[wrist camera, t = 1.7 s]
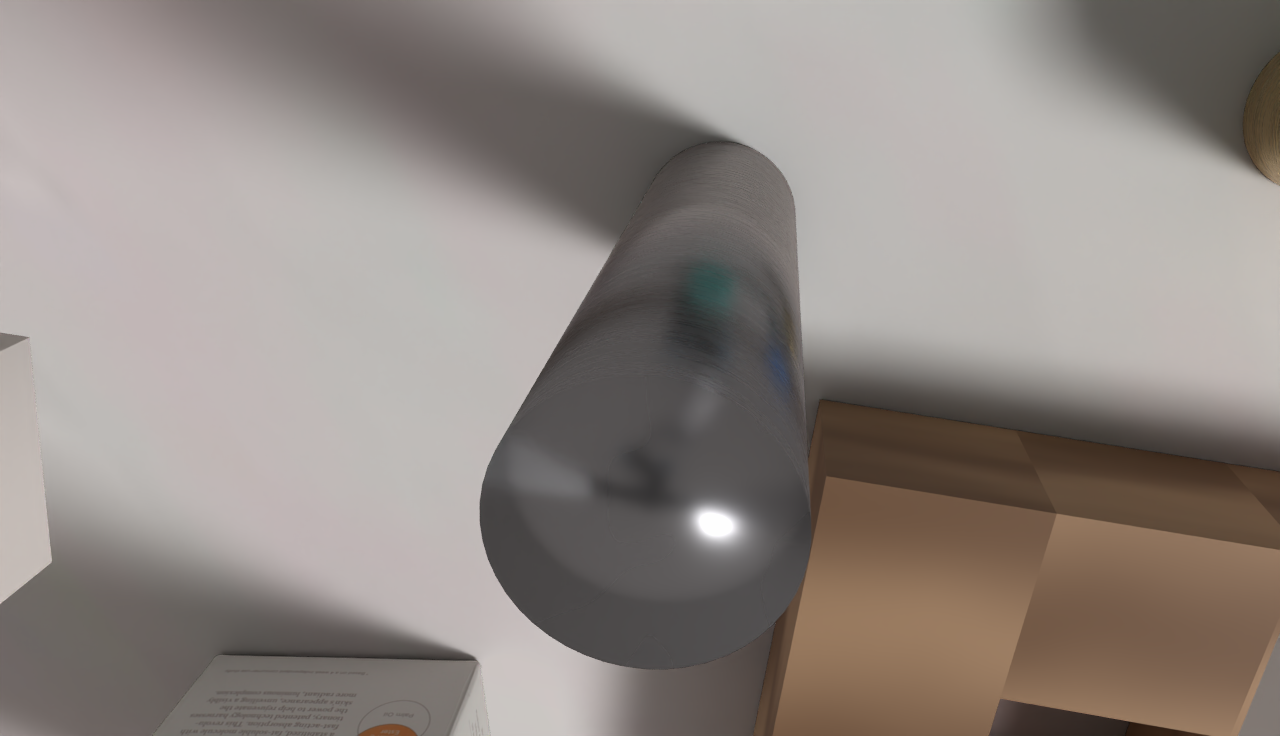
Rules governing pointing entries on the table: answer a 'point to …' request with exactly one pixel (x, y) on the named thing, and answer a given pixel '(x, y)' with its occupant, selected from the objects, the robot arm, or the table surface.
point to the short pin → (1264, 121)
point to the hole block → (1021, 583)
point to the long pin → (667, 432)
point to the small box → (331, 698)
